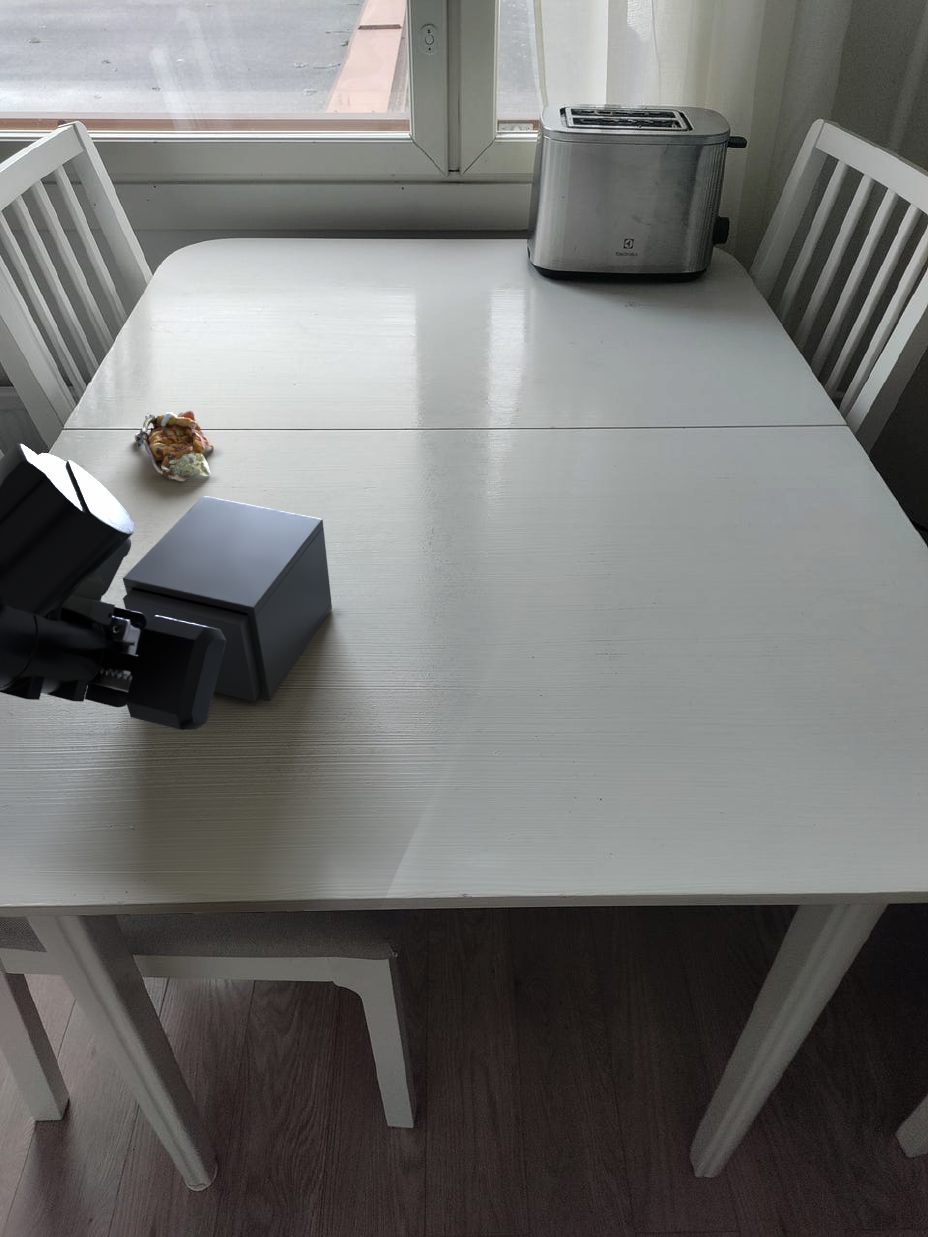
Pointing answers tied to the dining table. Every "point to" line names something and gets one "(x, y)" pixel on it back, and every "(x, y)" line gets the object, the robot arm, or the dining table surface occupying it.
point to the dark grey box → (247, 575)
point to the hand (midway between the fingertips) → (144, 657)
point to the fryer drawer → (238, 654)
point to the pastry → (175, 445)
